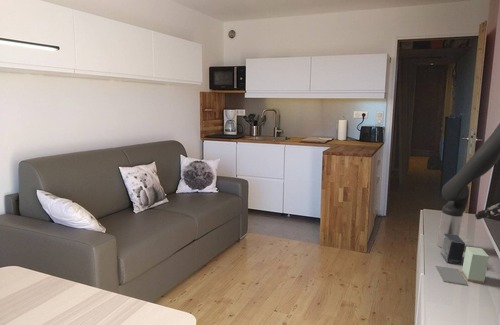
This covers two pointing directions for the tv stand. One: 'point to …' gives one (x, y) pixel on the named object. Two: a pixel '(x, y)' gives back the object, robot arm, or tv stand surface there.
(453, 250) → the small box
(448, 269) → the mat
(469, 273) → the sage block
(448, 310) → the tv stand surface
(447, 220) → the robot arm
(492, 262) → the tv stand surface
